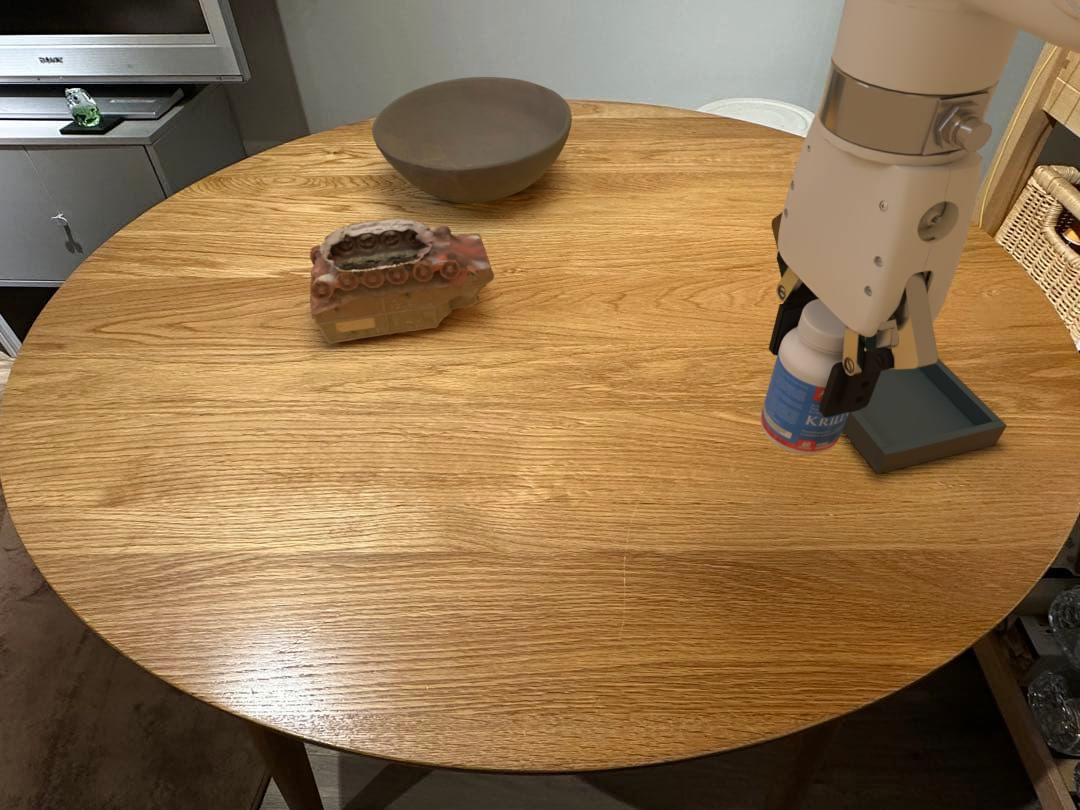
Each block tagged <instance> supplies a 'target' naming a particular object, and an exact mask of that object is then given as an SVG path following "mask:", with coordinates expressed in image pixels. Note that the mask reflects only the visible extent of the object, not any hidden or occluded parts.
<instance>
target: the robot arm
mask: <svg viewBox="0 0 1080 810" xmlns="http://www.w3.org/2000/svg"><path fill="white" fill-rule="evenodd" d="M837 29H838V30H837V34H836V38H835V43H834V47H833V52H832V55H831V57H830V61H829V65H828V70H827V74H826V78H825V83H824V86H823V91H822V95H821V98H820V103H819V106H818V108H817V110H816V112H815V115H814V117H813V119H812V121H811V124H810V126H809V128H808V130H807V134H806V136H805V139H804V141H803V144H802V147H801V149H800V152H799V155H798V158H797V161H796V164H795V167H794V170H793V174H792V175H791V180H790V183H789V187H788V190H787V194H786V198H785V201H784V205H783V210H782V212H781V213H779V214H778V215H776V216H774V217H773V219H771V230H772V234H773V238H774V241H775V242H774V243H775V246H776V249H777V250H778V251H777V253H776V262H777V265H778V270H779V274H780V278H781V279H780V280H779V282H778V283H777V286H776V294H777V298H778V300H779V301H780V302H782V303H779V305H778V309H777V311H776V312H777V313H776V316H775V319H774V320H775V321H774V325H773V329H772V333H771V336H770V341H769V345H768V351H769V352H771V355H773V356H777V355H778V352H779V348H780V345H781V342H782V340H783V338H784V337H785V335H786V334H787V333H788V332H790V331H791V330H792V329H794V328H796V327H798V324H799V321H800V317H801V314H802V311H803V309H804V307H805V306H806V305H807V304H808V303H809V302H811V301H813V300H816V299H820V300H821V301H822V302H823V303H824V304H825V305H826V306H827V307H828V308H829V309H830V310H831V311H832V312H833V313H834V314H835V315H836V316H837V317H838V318H839V319H840V320H841V321H842V322H843V323H844V324H845V332H844V347H843V362H839V363H836V364H834V365H833V367H832V369H831V372H830V375H829V378H828V381H827V384H826V387H825V391H824V394H823V397H822V400H821V403H820V406H819V407H820V408H819V411H820V412H821V413H822V415H823V416H824V417H831V416H835V415H839V414H843V413H847V412H854V411H858V410H861V409H863V408H865V407H866V406H867V405H868V404H869V402H870V399H871V396H872V394H873V391H874V389H875V386H876V384H877V381H878V378H879V376H880V373H881V371H884V370H888V369H895V370H898V369H915V368H920V367H924V366H928V365H932V364H935V363H936V362H937V360H938V358H939V354H938V348H937V342H936V337H935V336H936V335H935V331H934V325H933V323H934V322H935V321H936V319H937V318H938V317H939V314H940V313H941V310H942V308H943V307H944V304H945V302H946V299H947V296H948V293H949V291H950V288H951V286H952V283H953V281H954V278H955V275H956V272H957V269H958V266H959V263H960V260H961V257H962V254H963V251H964V248H965V244H966V241H967V239H968V234H969V231H970V227H971V224H972V219H973V216H974V211H975V208H976V204H977V198H978V192H979V189H980V182H981V174H982V167H983V156H982V155H981V154H980V153H979V152H978V151H979V150H981V149H982V148H983V147H984V146H985V145H986V144H987V143H988V141H989V140H990V138H991V136H992V132H993V128H992V125H991V124H989V123H988V122H986V121H985V117H986V115H987V113H988V110H989V107H990V105H991V102H992V99H993V97H994V96H995V95H994V94H995V92H996V90H997V87H998V84H999V82H1000V79H1001V78H1002V75H1003V72H1004V70H1005V67H1006V65H1007V62H1008V60H1009V57H1010V55H1011V52H1012V49H1013V48H1014V44H1015V43H1016V40H1017V37H1018V34H1019V33H1020V30H1021V31H1023V32H1025V33H1027V34H1029V35H1031V36H1033V37H1035V38H1037V39H1039V40H1041V41H1043V42H1046V43H1048V44H1051V45H1052V46H1055V47H1057V48H1060V49H1064V50H1066V51H1070V52H1073V53H1077V54H1080V0H844V4H843V8H842V12H841V17H840V21H839V26H838V28H837ZM876 332H877V341H876V349H871V350H867V351H865V340H866V337H872V336H874V335H875V334H876ZM898 341H899V343H898Z"/></svg>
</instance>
